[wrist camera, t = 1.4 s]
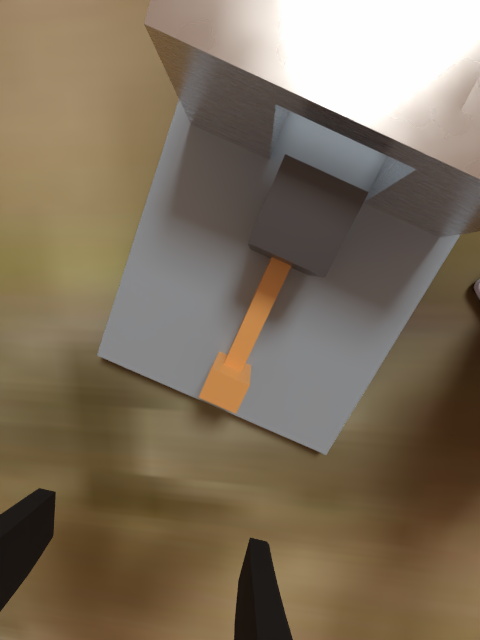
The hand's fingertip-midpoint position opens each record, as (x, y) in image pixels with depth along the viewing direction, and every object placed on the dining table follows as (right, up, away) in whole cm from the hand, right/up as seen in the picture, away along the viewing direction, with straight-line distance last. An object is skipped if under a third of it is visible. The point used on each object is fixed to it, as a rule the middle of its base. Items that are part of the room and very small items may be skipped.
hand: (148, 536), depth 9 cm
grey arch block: (+9, +19, +6) cm, 21 cm away
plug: (+5, +9, +7) cm, 13 cm away
